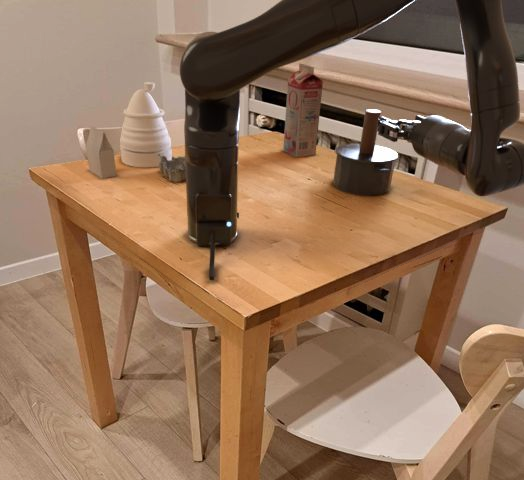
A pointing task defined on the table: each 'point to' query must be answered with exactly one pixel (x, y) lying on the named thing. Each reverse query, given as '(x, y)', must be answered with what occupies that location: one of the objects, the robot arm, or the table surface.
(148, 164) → the honey pot
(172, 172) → the egg carton
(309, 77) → the milk carton
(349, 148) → the lid
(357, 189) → the pot
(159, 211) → the table surface
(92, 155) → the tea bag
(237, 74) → the robot arm
